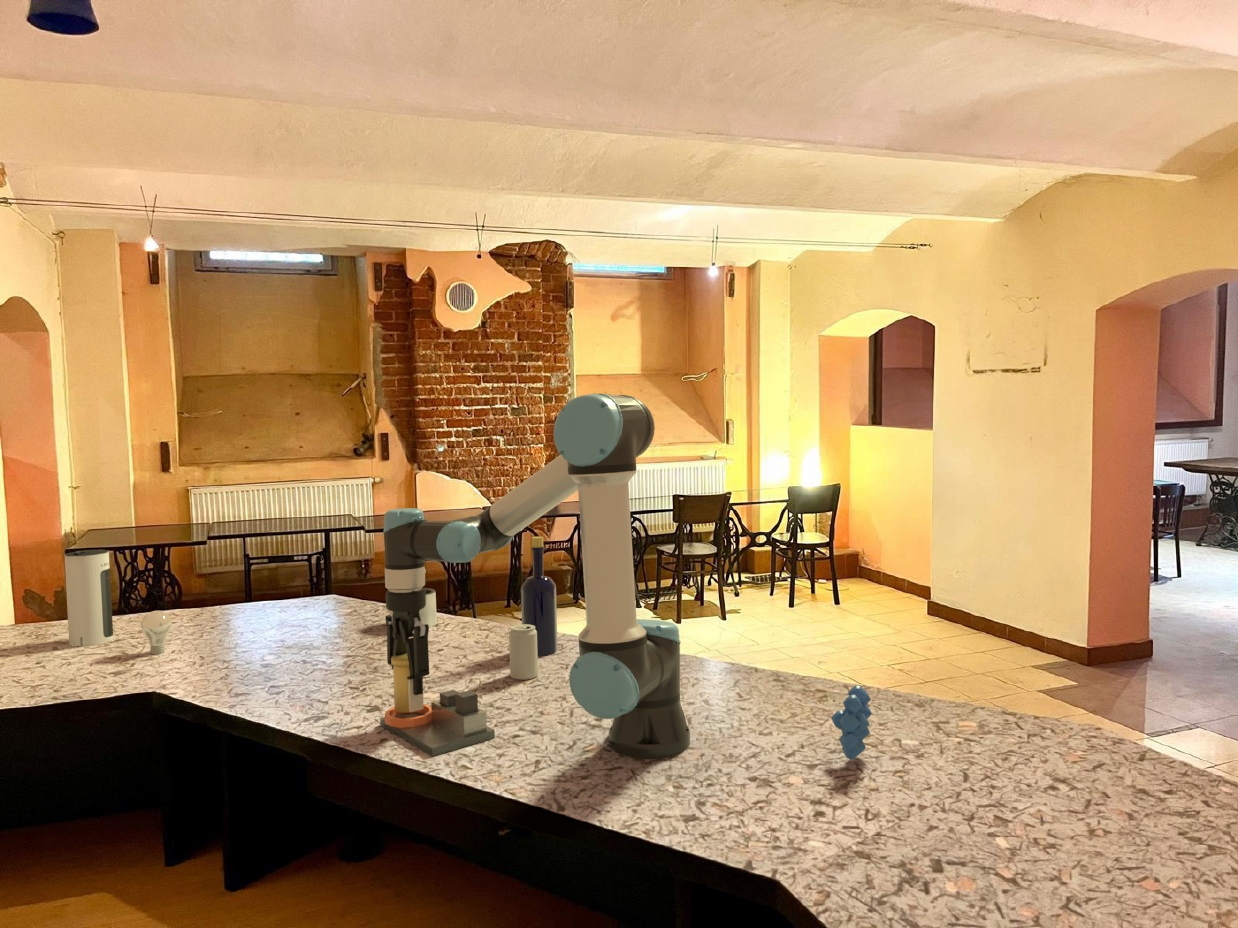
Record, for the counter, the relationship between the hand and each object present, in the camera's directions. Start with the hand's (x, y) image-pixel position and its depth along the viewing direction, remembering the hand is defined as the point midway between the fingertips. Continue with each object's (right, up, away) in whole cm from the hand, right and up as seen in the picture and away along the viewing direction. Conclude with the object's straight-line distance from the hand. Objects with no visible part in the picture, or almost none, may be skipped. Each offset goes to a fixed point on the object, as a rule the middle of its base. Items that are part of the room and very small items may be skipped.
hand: (408, 705), depth 166 cm
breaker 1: (+8, -2, -1) cm, 9 cm away
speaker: (-103, -3, +65) cm, 122 cm away
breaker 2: (+12, -1, -6) cm, 14 cm away
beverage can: (+19, -2, +30) cm, 36 cm away
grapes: (+82, -4, -17) cm, 83 cm away
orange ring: (0, -3, 0) cm, 3 cm away
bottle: (+21, -1, +49) cm, 54 cm away
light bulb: (-78, -3, +54) cm, 95 cm away
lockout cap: (0, 0, 0) cm, 0 cm away
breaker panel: (+6, -4, -3) cm, 8 cm away
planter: (-17, -1, +77) cm, 79 cm away
